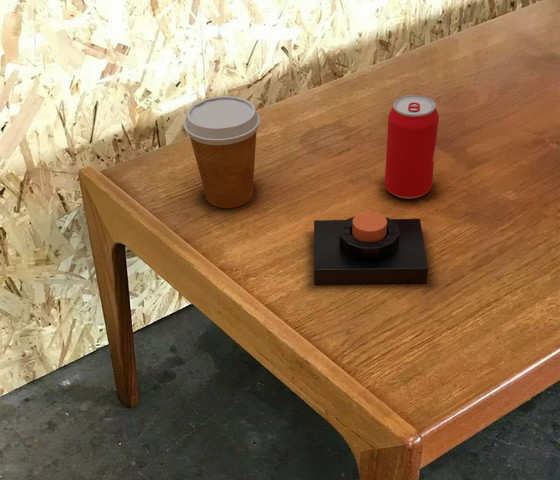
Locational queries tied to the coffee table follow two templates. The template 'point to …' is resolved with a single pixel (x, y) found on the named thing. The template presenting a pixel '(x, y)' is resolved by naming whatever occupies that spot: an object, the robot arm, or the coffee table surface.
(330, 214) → the coffee table surface
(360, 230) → the button
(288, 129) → the coffee table surface
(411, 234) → the housing
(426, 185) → the beverage can
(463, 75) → the coffee table surface
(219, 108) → the disposable coffee cup
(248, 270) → the coffee table surface
